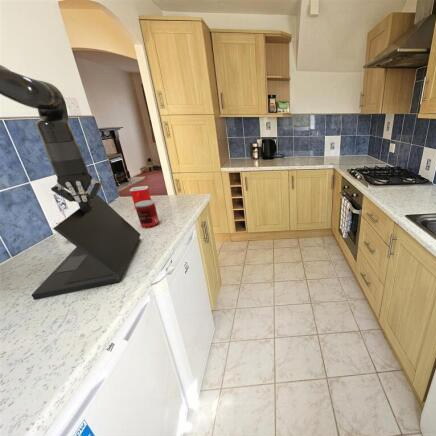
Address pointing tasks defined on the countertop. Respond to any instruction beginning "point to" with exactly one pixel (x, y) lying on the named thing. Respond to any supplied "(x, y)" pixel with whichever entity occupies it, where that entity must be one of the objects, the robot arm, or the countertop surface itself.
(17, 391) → the countertop surface
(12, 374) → the countertop surface
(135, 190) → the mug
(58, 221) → the smoothie
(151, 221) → the canned food
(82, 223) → the laptop screen
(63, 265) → the laptop
